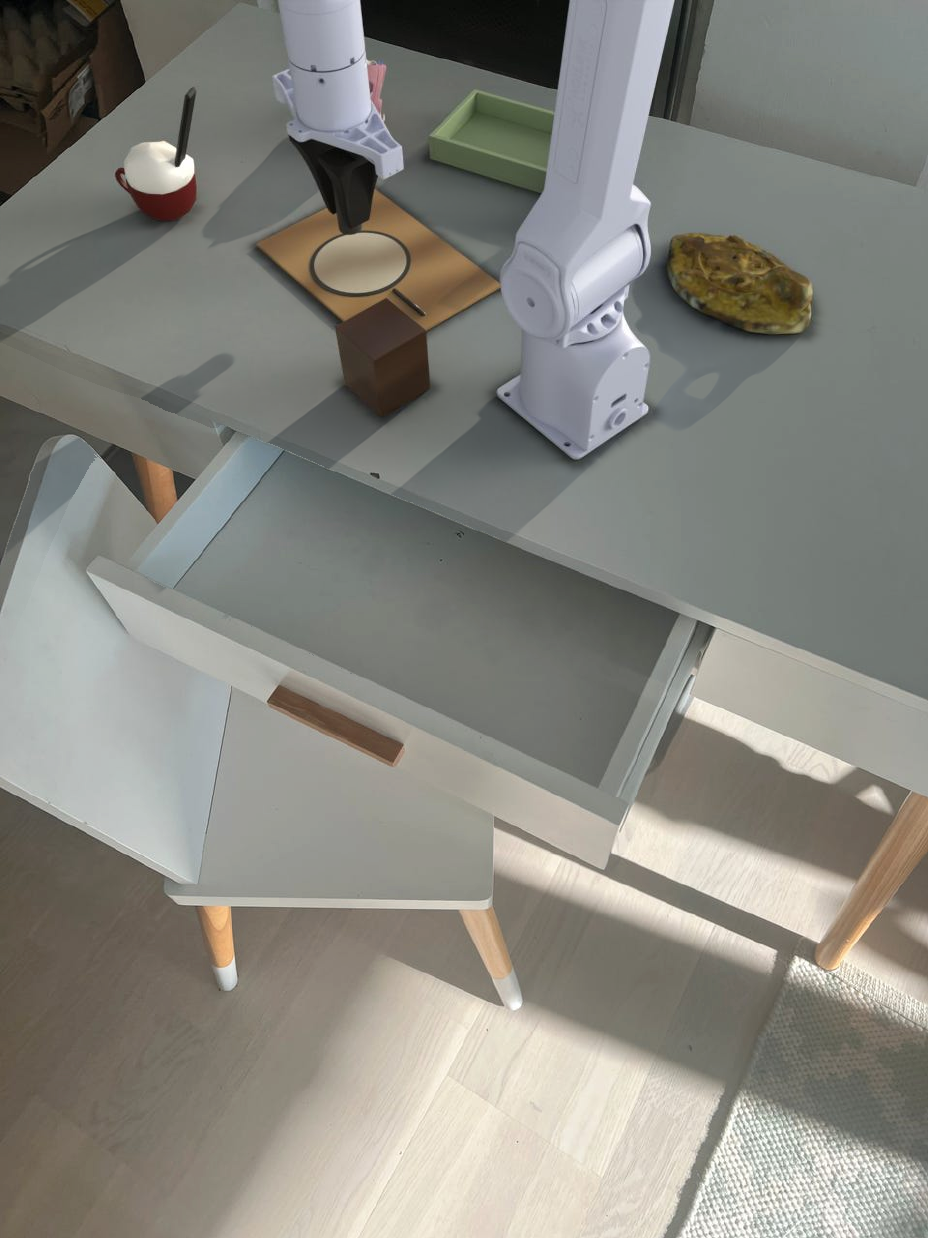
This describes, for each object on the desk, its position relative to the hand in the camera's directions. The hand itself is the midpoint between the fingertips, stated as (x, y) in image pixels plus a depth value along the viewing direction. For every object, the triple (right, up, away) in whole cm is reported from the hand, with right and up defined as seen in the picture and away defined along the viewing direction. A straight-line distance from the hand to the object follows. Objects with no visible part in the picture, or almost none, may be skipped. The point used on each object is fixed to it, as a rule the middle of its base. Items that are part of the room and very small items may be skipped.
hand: (349, 214), depth 84 cm
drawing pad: (+2, -3, +5) cm, 6 cm away
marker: (0, -1, +1) cm, 1 cm away
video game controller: (-1, +15, +16) cm, 22 cm away
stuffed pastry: (+33, -6, +2) cm, 34 cm away
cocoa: (-18, +4, +10) cm, 21 cm away
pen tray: (+15, +11, +13) cm, 23 cm away
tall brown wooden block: (+3, -15, -4) cm, 16 cm away
